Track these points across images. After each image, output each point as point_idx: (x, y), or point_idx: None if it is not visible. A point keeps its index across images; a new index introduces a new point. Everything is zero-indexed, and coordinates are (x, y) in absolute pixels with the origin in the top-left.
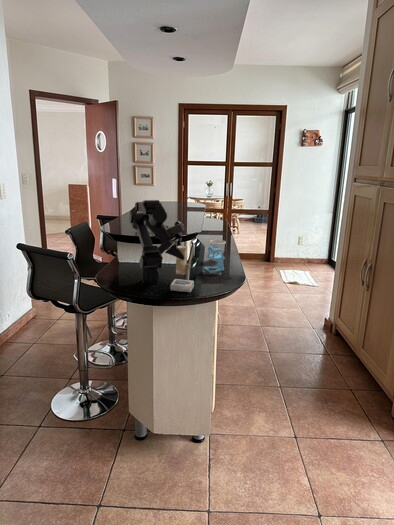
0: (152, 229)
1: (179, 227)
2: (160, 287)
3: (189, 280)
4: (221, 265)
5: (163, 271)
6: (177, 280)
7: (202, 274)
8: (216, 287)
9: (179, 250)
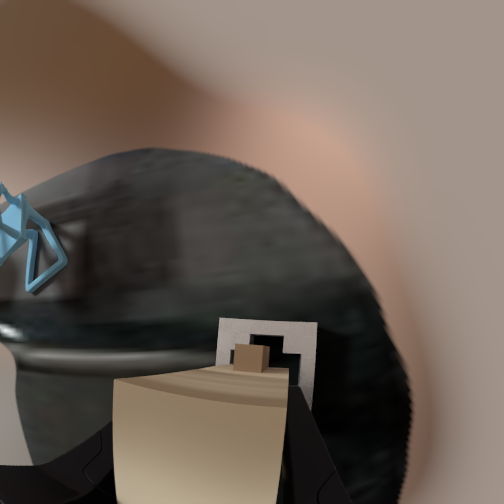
0: None
1: None
2: None
3: (220, 343)
4: (38, 219)
5: None
6: None
7: (77, 295)
8: (222, 216)
9: (300, 483)
